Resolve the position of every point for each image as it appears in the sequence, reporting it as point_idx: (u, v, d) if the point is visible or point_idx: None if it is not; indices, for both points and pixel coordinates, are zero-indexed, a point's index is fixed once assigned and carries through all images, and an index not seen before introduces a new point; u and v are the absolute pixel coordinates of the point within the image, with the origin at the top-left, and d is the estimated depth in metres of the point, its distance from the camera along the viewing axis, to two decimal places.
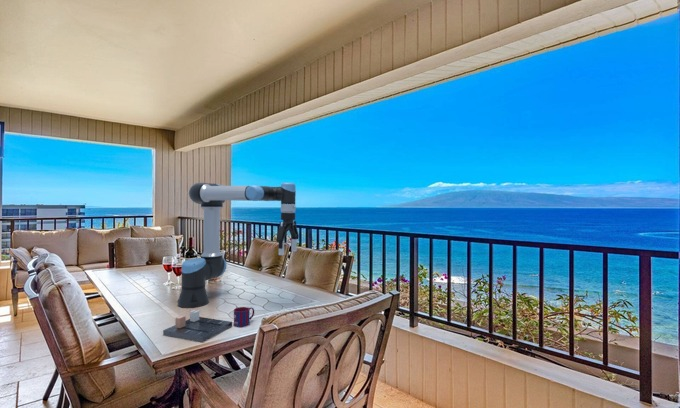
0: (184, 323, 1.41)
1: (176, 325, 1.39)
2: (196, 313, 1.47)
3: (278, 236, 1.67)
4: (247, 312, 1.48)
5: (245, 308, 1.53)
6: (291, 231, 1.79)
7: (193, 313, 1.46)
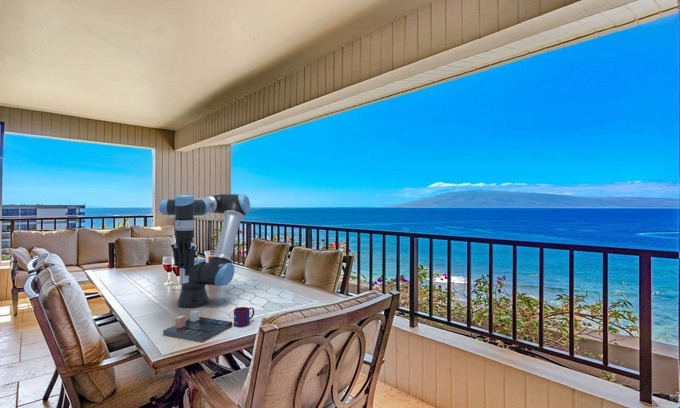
0: (184, 323, 1.41)
1: (176, 325, 1.39)
2: (196, 313, 1.47)
3: None
4: (247, 312, 1.48)
5: (245, 308, 1.53)
6: None
7: (193, 313, 1.46)
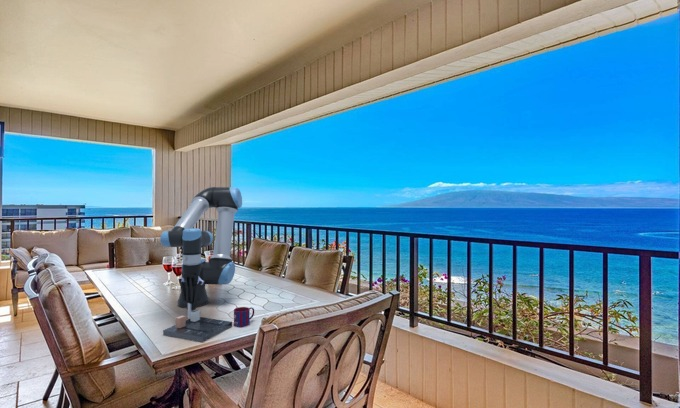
0: (184, 323, 1.41)
1: (176, 325, 1.39)
2: (196, 313, 1.47)
3: None
4: (247, 312, 1.48)
5: (245, 308, 1.53)
6: None
7: (193, 313, 1.46)
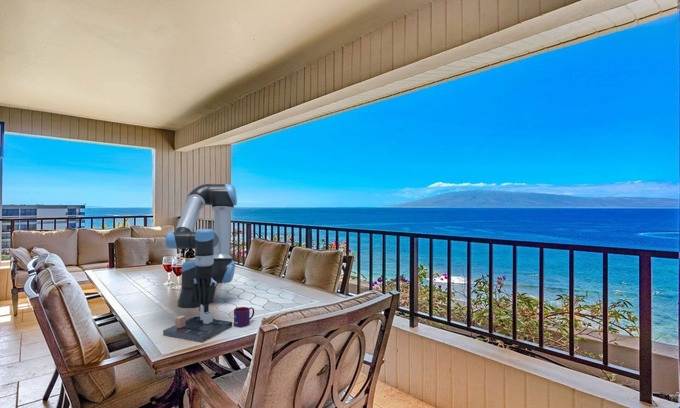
0: (184, 323, 1.41)
1: (176, 325, 1.39)
2: (209, 315, 1.45)
3: None
4: (247, 312, 1.48)
5: (245, 308, 1.53)
6: None
7: (206, 315, 1.44)
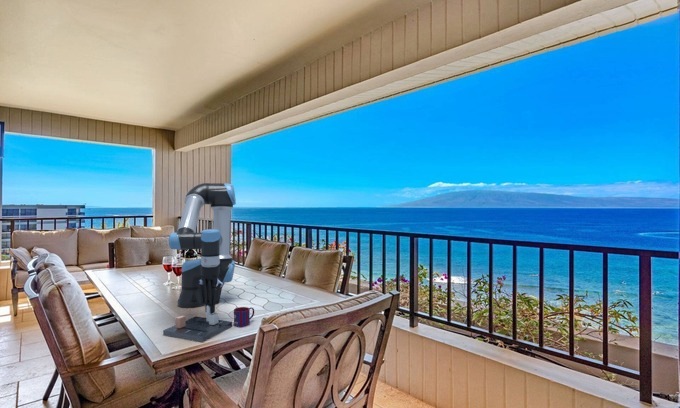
0: (184, 323, 1.41)
1: (176, 325, 1.39)
2: (215, 316, 1.44)
3: None
4: (247, 312, 1.48)
5: (245, 308, 1.53)
6: None
7: (212, 316, 1.43)
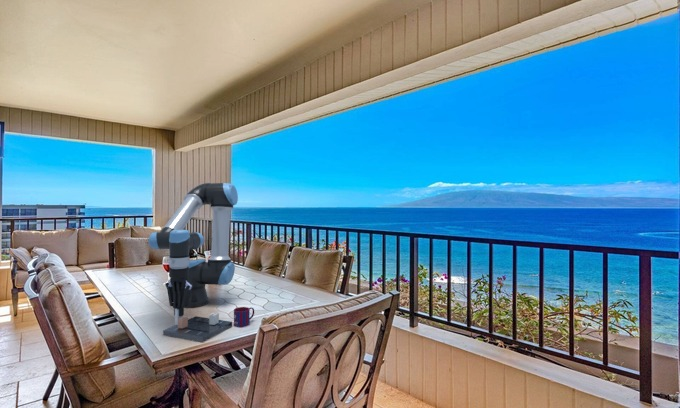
0: (186, 323, 1.41)
1: (178, 325, 1.39)
2: (215, 316, 1.44)
3: None
4: (247, 312, 1.48)
5: (245, 308, 1.53)
6: None
7: (212, 316, 1.43)
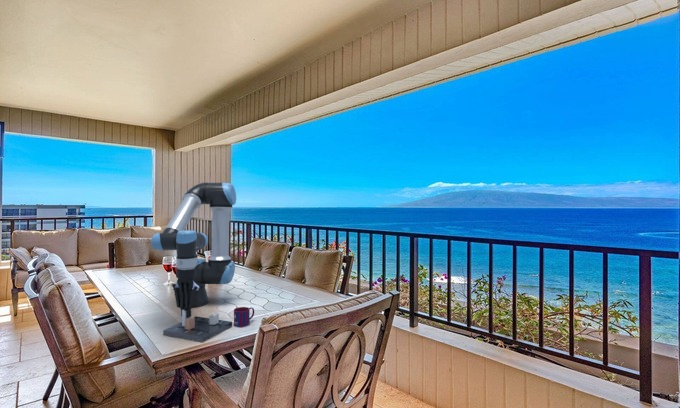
0: (193, 325, 1.39)
1: (185, 327, 1.38)
2: (215, 316, 1.44)
3: None
4: (247, 312, 1.48)
5: (245, 308, 1.53)
6: None
7: (212, 316, 1.43)
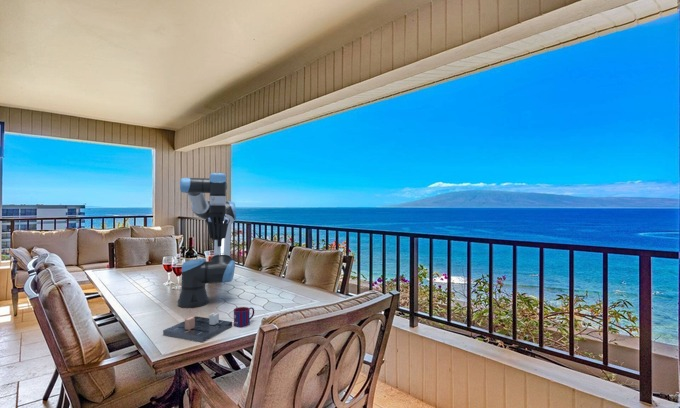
0: (193, 325, 1.39)
1: (185, 327, 1.38)
2: (215, 316, 1.44)
3: None
4: (247, 312, 1.48)
5: (245, 308, 1.53)
6: None
7: (212, 316, 1.43)
